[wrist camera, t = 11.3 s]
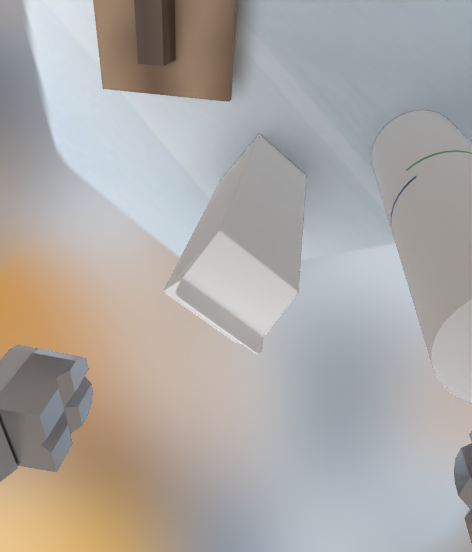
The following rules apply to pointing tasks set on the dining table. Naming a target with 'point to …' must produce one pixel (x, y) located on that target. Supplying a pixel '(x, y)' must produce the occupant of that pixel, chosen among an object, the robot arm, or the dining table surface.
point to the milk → (246, 248)
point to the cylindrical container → (433, 233)
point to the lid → (167, 46)
